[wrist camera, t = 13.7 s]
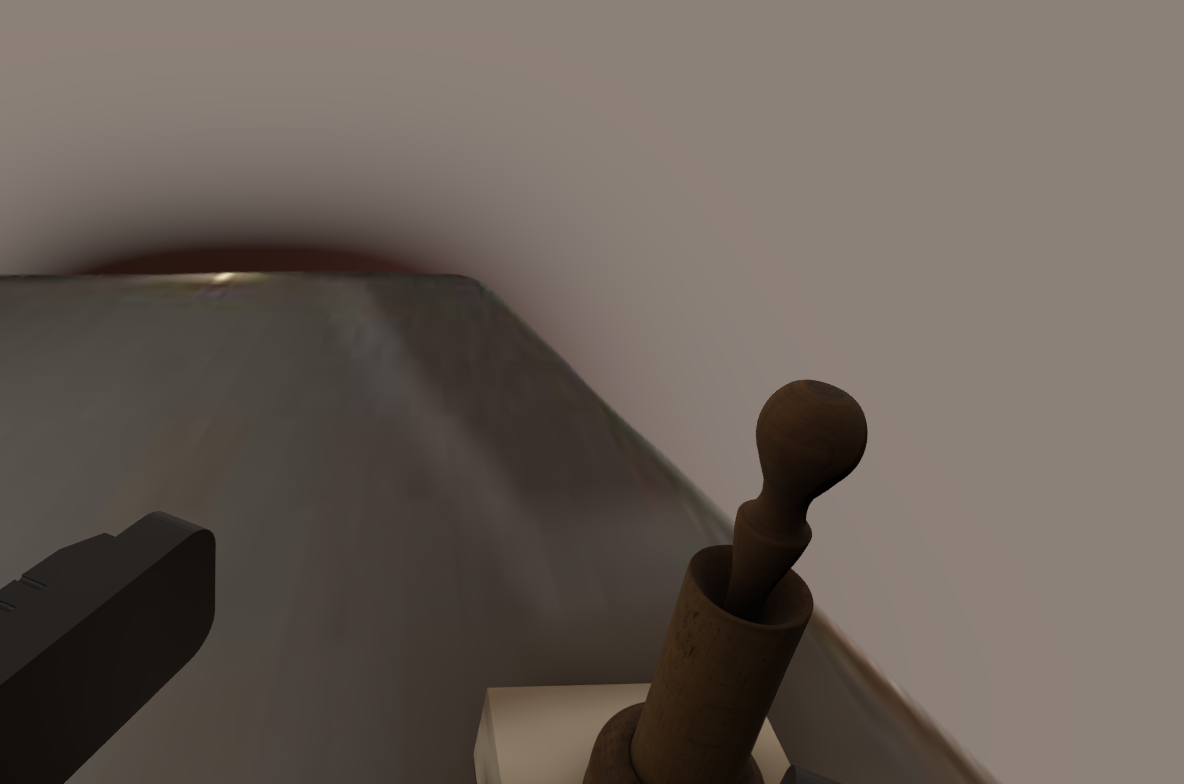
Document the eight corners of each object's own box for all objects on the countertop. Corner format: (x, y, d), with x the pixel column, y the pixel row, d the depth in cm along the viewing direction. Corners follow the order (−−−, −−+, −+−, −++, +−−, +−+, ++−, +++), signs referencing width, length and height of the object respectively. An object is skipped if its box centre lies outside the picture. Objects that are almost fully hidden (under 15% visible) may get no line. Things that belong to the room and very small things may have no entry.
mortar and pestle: (558, 747, 32) (676, 329, 24) (706, 731, 35) (859, 343, 26) (609, 920, 27) (783, 454, 19) (781, 888, 29) (1002, 459, 21)
